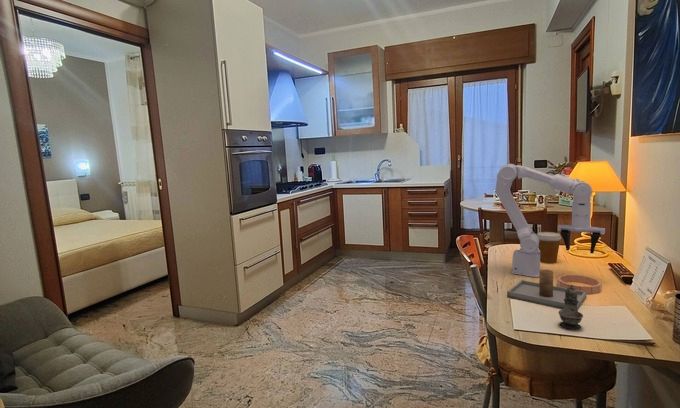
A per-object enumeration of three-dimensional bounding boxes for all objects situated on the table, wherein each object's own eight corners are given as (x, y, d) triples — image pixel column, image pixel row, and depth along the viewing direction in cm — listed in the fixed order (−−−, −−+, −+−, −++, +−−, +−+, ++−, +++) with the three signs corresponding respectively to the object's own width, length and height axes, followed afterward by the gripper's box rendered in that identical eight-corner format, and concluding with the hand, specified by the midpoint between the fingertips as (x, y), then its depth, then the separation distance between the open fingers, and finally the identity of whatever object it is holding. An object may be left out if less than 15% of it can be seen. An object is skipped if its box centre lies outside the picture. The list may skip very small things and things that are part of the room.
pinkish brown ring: (553, 288, 133) (553, 281, 133) (562, 278, 142) (563, 272, 142) (596, 296, 124) (596, 289, 124) (604, 285, 133) (604, 278, 133)
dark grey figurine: (553, 322, 108) (554, 281, 107) (572, 320, 109) (574, 280, 107) (567, 331, 102) (568, 289, 101) (587, 330, 103) (589, 287, 101)
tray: (507, 297, 128) (507, 291, 127) (521, 285, 138) (521, 279, 137) (575, 311, 114) (576, 305, 114) (586, 297, 124) (586, 291, 124)
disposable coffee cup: (537, 257, 171) (538, 231, 169) (562, 259, 165) (562, 232, 164) (533, 262, 163) (534, 235, 162) (559, 265, 158) (560, 237, 156)
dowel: (537, 295, 126) (537, 271, 125) (541, 292, 129) (541, 269, 128) (551, 298, 123) (551, 274, 122) (554, 294, 126) (554, 270, 125)
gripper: (555, 215, 141) (554, 250, 142) (602, 218, 131) (601, 256, 132) (561, 212, 146) (560, 246, 147) (606, 215, 136) (605, 252, 138)
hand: (579, 251), depth 140 cm, fingers open, 7 cm apart
